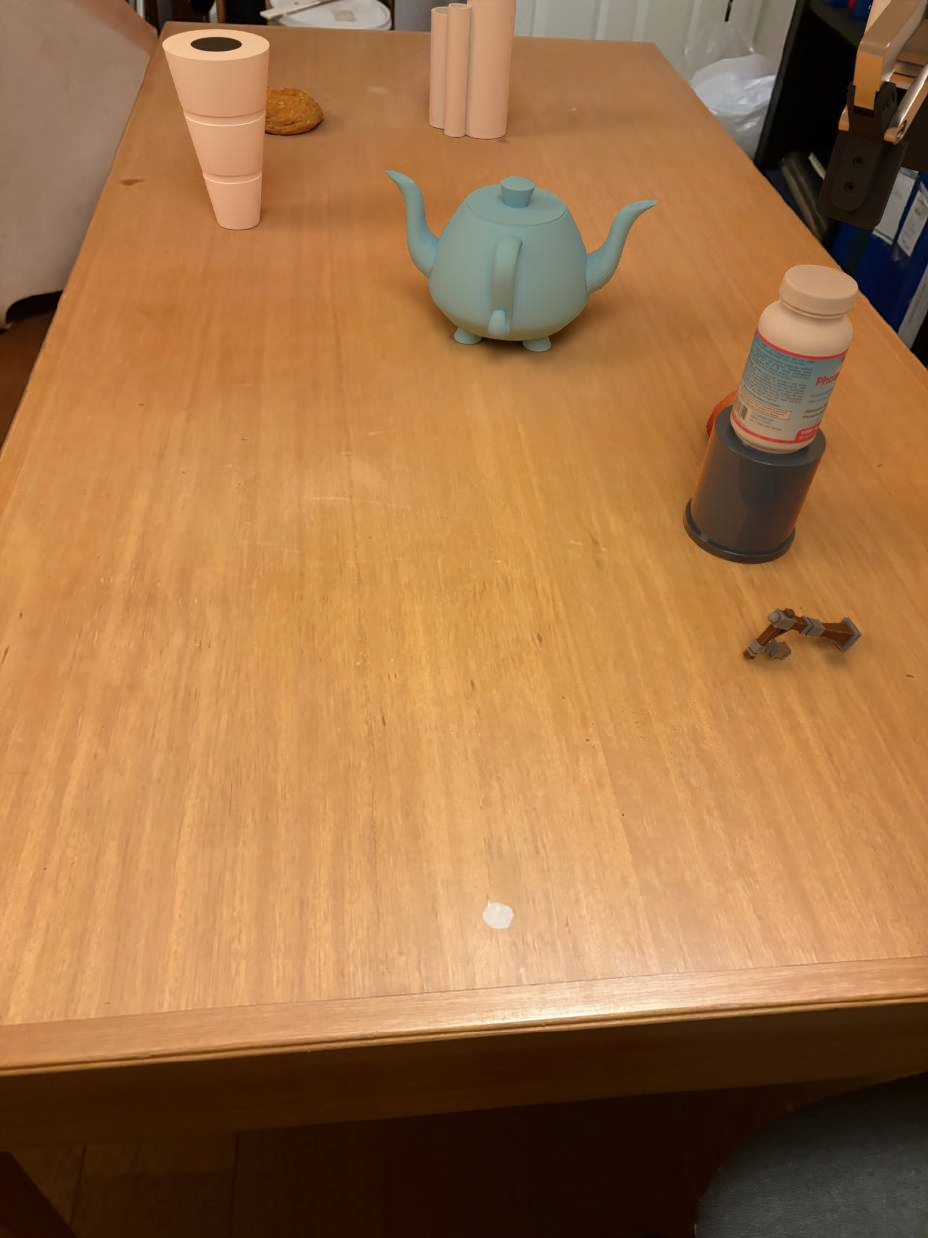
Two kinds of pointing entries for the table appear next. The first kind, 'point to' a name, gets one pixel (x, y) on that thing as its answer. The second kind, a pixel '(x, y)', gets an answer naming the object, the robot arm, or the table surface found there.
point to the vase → (471, 67)
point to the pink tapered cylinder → (224, 114)
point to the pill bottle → (795, 359)
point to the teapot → (511, 260)
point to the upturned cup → (749, 495)
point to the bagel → (290, 111)
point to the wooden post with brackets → (786, 621)
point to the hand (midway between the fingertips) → (885, 194)
